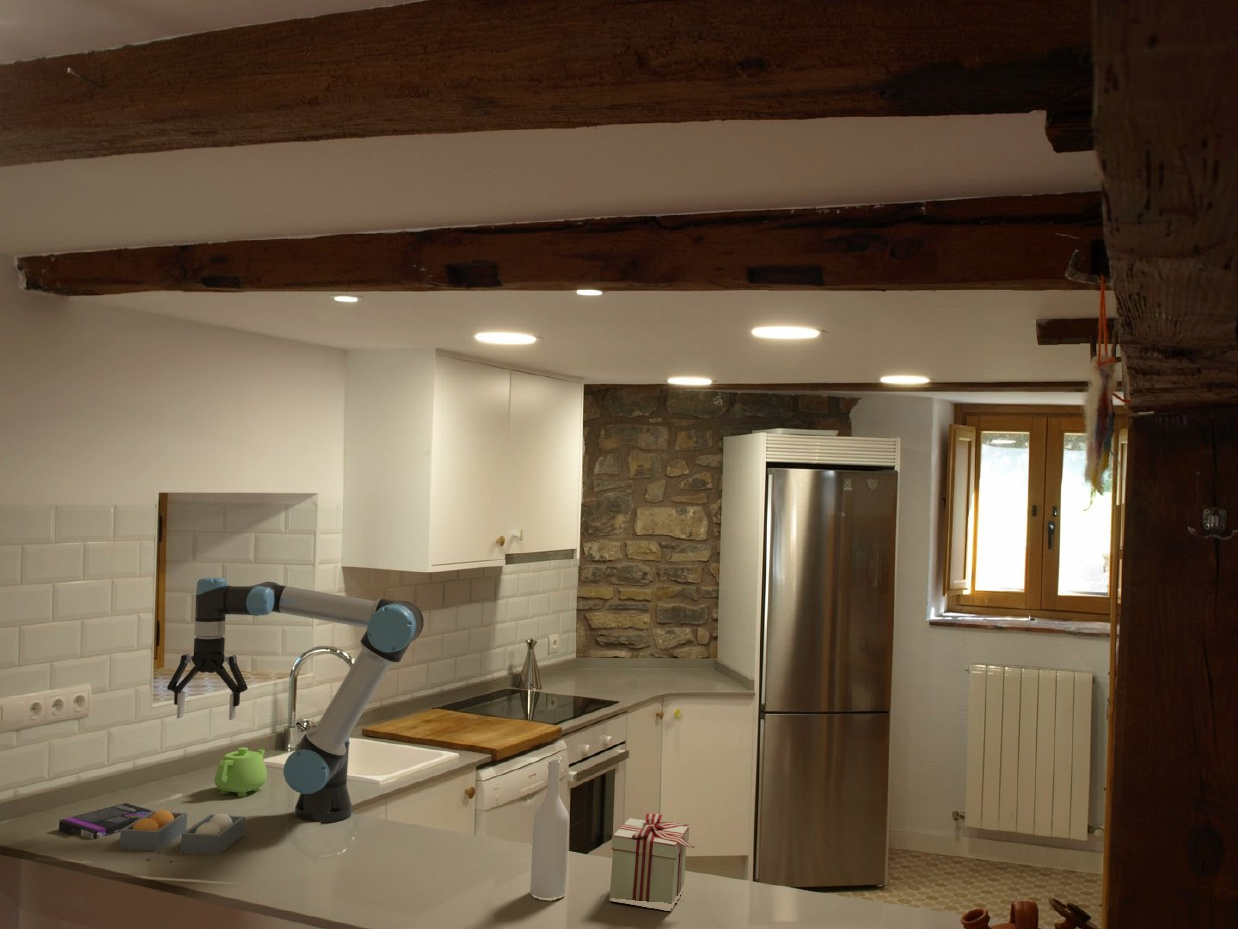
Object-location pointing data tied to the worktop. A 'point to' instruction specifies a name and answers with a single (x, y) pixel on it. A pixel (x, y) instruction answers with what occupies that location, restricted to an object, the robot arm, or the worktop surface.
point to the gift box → (649, 860)
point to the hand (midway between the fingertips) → (206, 718)
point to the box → (102, 821)
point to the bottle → (550, 841)
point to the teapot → (241, 772)
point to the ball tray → (189, 838)
